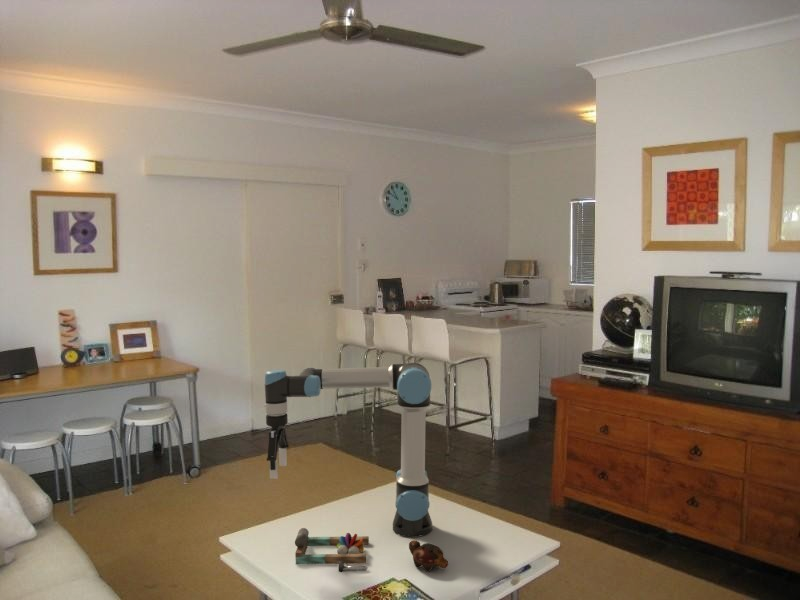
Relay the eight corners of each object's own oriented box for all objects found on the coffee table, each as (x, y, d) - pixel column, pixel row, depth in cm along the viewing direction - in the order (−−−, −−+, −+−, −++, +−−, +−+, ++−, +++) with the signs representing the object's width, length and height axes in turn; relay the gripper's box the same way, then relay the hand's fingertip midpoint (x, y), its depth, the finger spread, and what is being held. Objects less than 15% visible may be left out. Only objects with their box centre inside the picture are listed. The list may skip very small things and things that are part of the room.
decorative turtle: (414, 556, 232) (415, 534, 231) (453, 569, 224) (455, 546, 224) (400, 566, 224) (401, 543, 223) (440, 580, 216) (442, 556, 216)
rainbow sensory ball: (360, 560, 230) (360, 539, 230) (333, 557, 232) (333, 537, 232) (366, 549, 239) (366, 529, 238) (340, 547, 240) (340, 527, 240)
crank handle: (367, 569, 223) (367, 560, 223) (367, 571, 221) (367, 563, 221) (338, 569, 223) (338, 560, 223) (338, 572, 221) (338, 563, 221)
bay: (368, 543, 243) (368, 522, 243) (366, 563, 227) (365, 541, 227) (300, 543, 243) (300, 523, 243) (293, 564, 227) (292, 542, 227)
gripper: (274, 405, 251) (276, 460, 253) (256, 422, 226) (258, 483, 228) (294, 405, 251) (296, 460, 252) (278, 422, 226) (280, 483, 227)
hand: (278, 471), depth 240 cm, fingers open, 13 cm apart
